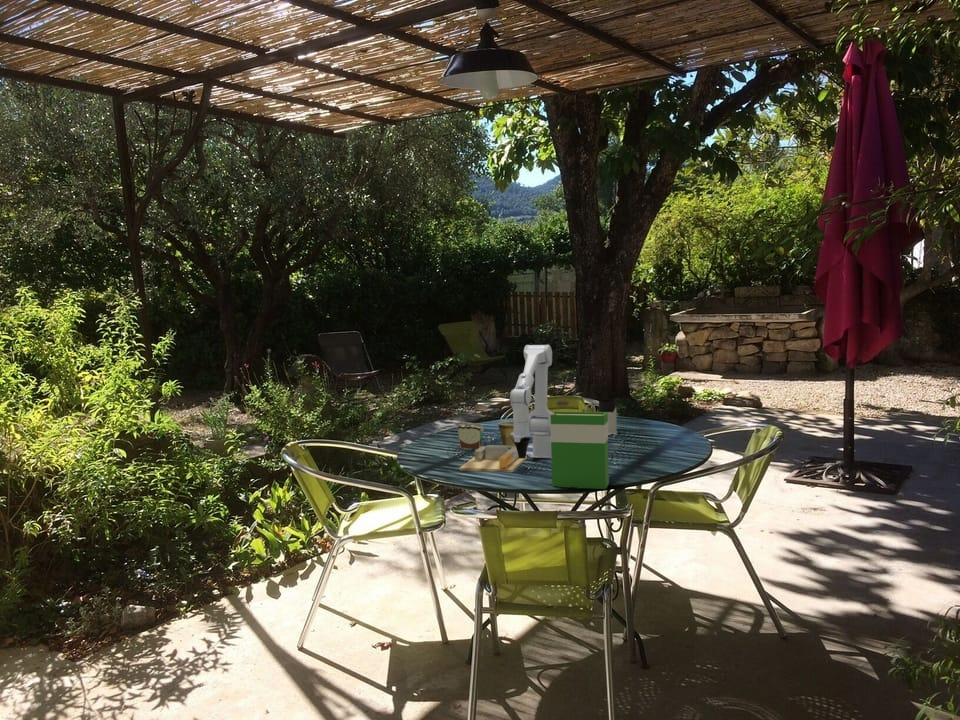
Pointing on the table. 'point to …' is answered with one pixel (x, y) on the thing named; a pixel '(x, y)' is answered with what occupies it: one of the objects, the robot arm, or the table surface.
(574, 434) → the green box
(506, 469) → the base
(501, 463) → the block
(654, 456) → the table surface
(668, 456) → the table surface
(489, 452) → the steel block
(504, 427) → the ceramic cup
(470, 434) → the food container
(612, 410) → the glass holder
